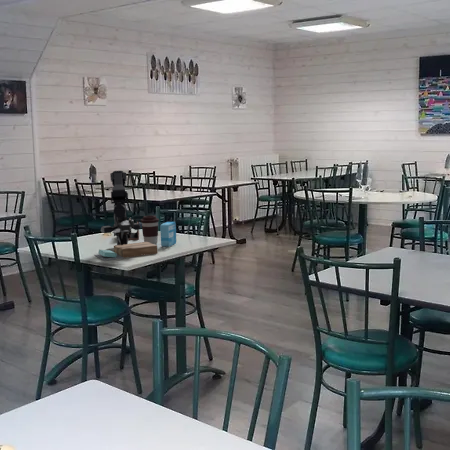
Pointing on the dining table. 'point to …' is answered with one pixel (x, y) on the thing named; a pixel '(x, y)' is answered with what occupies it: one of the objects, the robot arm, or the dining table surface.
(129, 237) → the letter holder
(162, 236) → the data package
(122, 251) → the brown flat block
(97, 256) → the mat
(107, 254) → the teal foam pad
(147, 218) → the coffee cup
